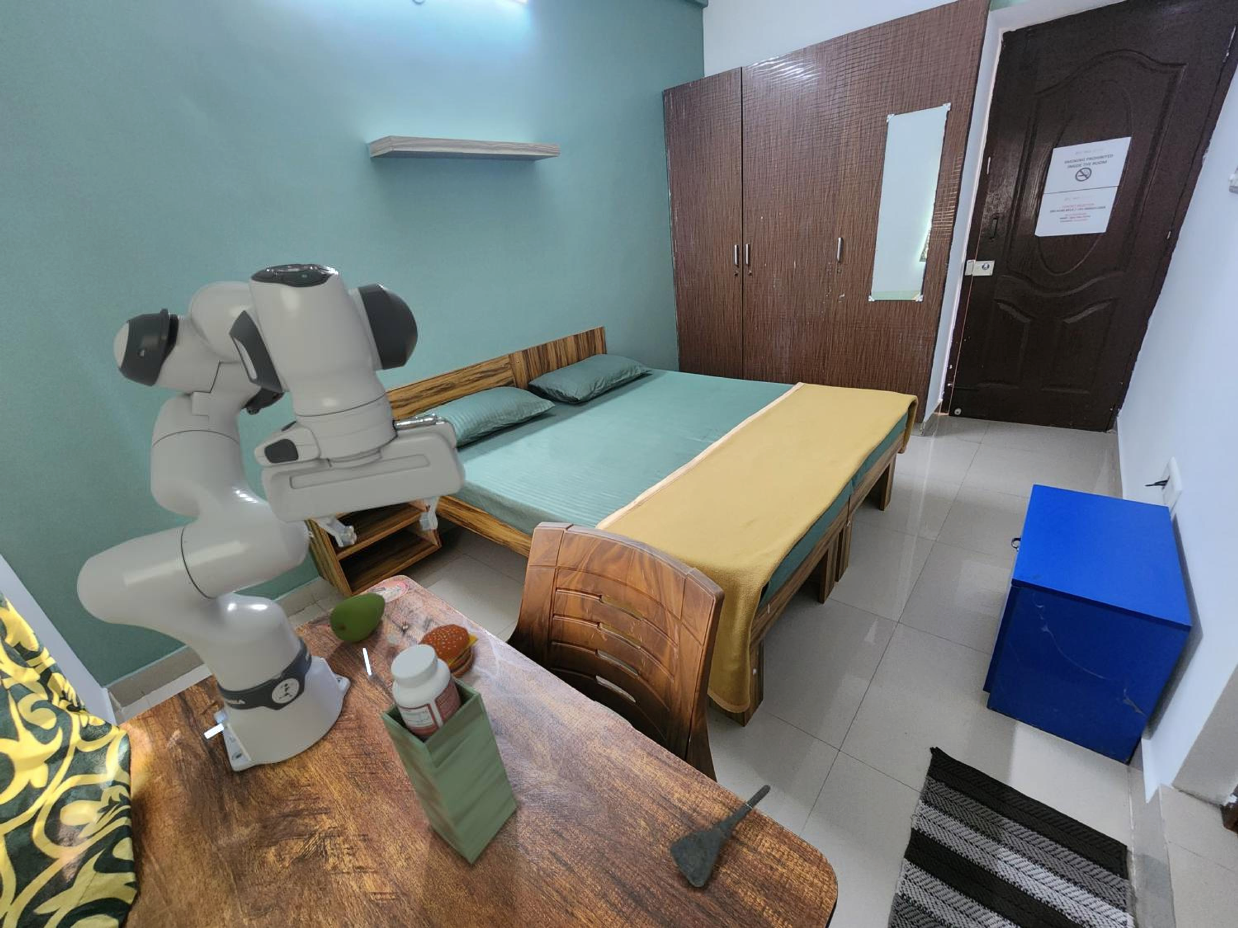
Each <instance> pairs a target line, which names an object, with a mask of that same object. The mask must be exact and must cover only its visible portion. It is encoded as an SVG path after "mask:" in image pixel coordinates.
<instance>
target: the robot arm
mask: <svg viewBox="0 0 1238 928" xmlns="http://www.w3.org/2000/svg"><path fill="white" fill-rule="evenodd" d="M418 338H419V332H418V326H417V322H416V319H415V316H414V315H413V312H412V310H411V308H410V307H409V305H408V304H407V303H406V302H405V301H404V299H403V298H401V297H400V296H399V295H398V294H396V293H395V292H394V291H392V290H390V289H389V288H387V287H385V286H384V285H381V284H379V283H378V282H377V283H376V282H375V283H370V284H366V285H362V286H357V288H351V289H349V288H348V285H347V284H346V283H345V281H344V279H343V278H342V275H341V274H340V273H339V272H338V270H336V269H335V268H332V267H329V266H327V265H324V264H318V263H289V264H280V265H274V266H269V267H266V268H264V269H260V270H258V271H256V272H255V273H253V274H252V275H251V276H250V277H249V279H248V282H243V281H238V280H218V281H213V282H210V283H208V284H205V285H203V286H201V287H199V288H198V289H197V290H196V291H195V292H194V293H193V295H191V297H190V299H189V301H188V305H187V310H186V314H183V315H178V314H177V313H176V314H175V313H170V310H169V308H168V307H166V308H165V307H164V308H161V310H160V311H159V312H156V313H141V314H139V315H137V316H134V317H132V318H129V319H127V321H126V322H125V324H124V325H123V326H122V327H121V328H120V329H119V330H118V332H117V334H116V336H115V338H114V341H113V349H112V350H113V355H114V359H115V362H116V364H117V369H118V371H119V372H120V373H121V375H122V376H123V377H124V378H125V379H127V380H130V381H132V382H135V383H138V384H140V385H143V386H146V387H153V386H156V387H159V388H162V389H165V390H169V391H173V392H177V393H180V394H177V395H175V396H173V397H170V398H169V399H167V400H166V401H165V402H164V403H163V404H162V406H161V407H160V409H159V412H158V414H157V417H156V419H155V423H154V427H153V432H152V436H151V444H150V447H151V448H150V493H151V495H152V497H153V499H154V500H155V502H156V503H157V504H158V505H159V506H160V507H162V508H163V509H165V510H166V511H169V512H171V513H174V514H177V515H179V516H183V517H187V518H194V519H195V520H194V521H192V522H188V523H186V524H183V525H179V526H176V527H175V526H174V527H172V528H167V529H164V530H160V531H157V532H153V533H150V534H149V533H148V534H145V535H140V536H138V537H135V538H131V539H128V540H126V541H123V542H121V543H119V544H116V545H114V546H112V547H110V548H107V549H105V550H103V551H101V552H99V553H97V554H95V555H93V556H91V557H89V558H88V559H87V560H86V561H85V563H84V564H83V566H82V567H81V569H80V571H79V574H78V576H77V582H76V592H77V596H78V600H79V601H80V603H81V605H82V606H83V608H84V610H86V611H87V613H89V614H90V615H92V616H93V617H95V618H96V619H97V620H101V621H102V622H105V623H109V624H115V625H128V626H137V627H140V628H145V629H149V630H153V631H156V632H159V633H161V634H164V635H167V636H169V637H171V638H173V639H175V640H178V641H179V642H181V643H182V644H184V645H186V646H187V647H189V648H190V649H191V650H192V651H193V652H194V653H195V654H197V656H198V657H199V658H200V659H201V661H202V662H203V663H204V665H205V667H207V668H208V670H209V671H210V672H211V674H212V675H213V677H214V679H215V680H216V688H217V691H218V694H219V696H220V698H221V699H222V702H223V708H221V709H219V710H218V711H216V712H215V713H214V714H213V717H214V719H215V721H216V722H217V725H216V726H214V727H212V728H211V729H209V730H208V731H206V732H204V736H205V737H206V739H209V738H211V737H213V736H214V735H216V734H218V733H219V732H222V736H223V738H224V744H225V747H226V751H227V755H228V760H229V763H230V766H231V769H232V770H233V771H234V772H240V771H243V770H247V769H249V768H252V767H254V766H258V765H268V764H275V763H279V762H283V761H286V760H289V759H291V758H294V757H295V756H297V755H299V754H301V753H303V752H304V751H306V750H307V749H309V748H310V747H312V746H313V745H315V744H316V743H317V742H318V741H320V740H321V739H322V738H323V737H324V736H325V735H326V734H327V733H328V732H329V731H330V730H331V728H332V727H333V726H334V724H335V723H336V721H337V720H338V718H339V716H340V715H341V712H342V709H343V703H344V699H345V696H346V694H347V692H348V691H349V689H350V687H351V684H352V682H351V681H350V680H349V678H347V677H345V676H343V675H339V674H336V673H334V672H333V671H332V669H331V667H330V665H329V664H328V662H327V661H326V659H325V657H319V656H317V655H313V654H311V652H310V649H309V646H308V645H307V643H306V642H305V641H304V640H303V638H302V637H300V636H298V634H297V632H296V630H295V628H294V627H293V625H292V623H291V621H290V619H289V617H288V615H287V613H286V612H285V611H286V610H285V609H284V608H283V607H282V606H281V605H280V604H279V603H277V602H276V601H275V600H273V599H270V598H268V597H262V596H253V595H243V594H238V593H235V592H239V591H242V590H246V589H248V588H252V587H254V586H257V585H262V584H264V583H268V582H270V581H272V580H274V579H277V578H279V577H280V576H281V575H284V574H286V573H288V572H290V571H291V570H294V569H296V568H297V567H300V566H301V565H302V564H303V562H304V561H305V560H306V557H307V555H308V552H309V549H310V541H311V540H310V538H311V537H310V532H309V527H308V526H307V524H306V522H305V521H309V520H314V519H315V521H316V523H317V525H318V527H320V528H321V529H322V530H324V531H326V532H327V533H329V534H330V535H331V536H332V537H334V539H335V540H336V543H337V544H338V547H339V548H343V547H349V546H354V545H355V542H356V541H357V534H356V532H354V531H355V529H354V526H353V525H348V526H345V525H344V524H343V523H342V522H340V521H339V520H338V519H337V518H336V516H337V515H341V514H347V513H352V512H359V511H364V510H370V509H375V508H380V507H386V506H387V507H388V506H391V505H397V504H404V503H408V502H415V501H420V500H422V501H423V504H424V507H428V506H429V508H428V511H424V512H422V513H421V515H420V517H419V520H418V521H419V525H420V526H421V531H422V532H429V531H434V530H437V528H438V525H439V524H438V518H437V516H436V515H437V514H436V510H437V507H438V504H439V500H440V498H441V497H443V496H447V495H454V494H458V493H460V491H461V490H462V488H463V486H464V485H465V482H466V475H467V474H466V473H467V472H466V469H465V467H464V464H463V463H464V462H463V461H462V457H461V455H460V453H459V451H458V448H457V445H458V437H457V433H456V428H455V425H454V424H453V423H452V422H451V421H450V420H449V419H447V418H445V417H442V416H438V415H437V414H435V413H431V414H430V413H429V414H425V415H423V416H416V417H415V416H414V417H405V418H398V419H395V415H394V413H393V409H392V406H391V403H390V400H389V396H388V394H387V391H386V388H385V386H384V384H383V383H382V381H381V379H379V377H378V375H377V372H378V371H381V370H382V371H386V370H387V371H388V370H391V369H397V368H402V367H405V366H406V365H407V363H408V361H409V360H410V358H411V357H412V355H413V353H414V350H415V348H416V346H417V343H418ZM286 393H289V394H290V399H291V407H292V409H291V410H292V412H293V415H294V417H295V420H293V421H292V422H289V423H287V424H285V425H283V426H281V427H280V428H279V429H277V430H275V431H274V432H272V433H271V434H270V435H268V436H267V437H266V438H265V439H263V440H262V441H261V442H260V443H259V444H258V445H257V446H256V447H255V448H254V450H253V455H254V456H253V457H254V458H255V460H256V462H257V463H258V464H259V465H261V466H262V467H264V468H263V469H262V472H261V475H260V476H261V477H260V478H261V479H260V480H261V485H262V488H263V491H264V495H265V497H266V500H265V499H264V498H262V497H261V496H259V495H258V494H256V493H255V492H254V491H253V490H252V488H251V486H250V484H249V482H248V478H247V474H246V470H245V464H244V463H245V462H244V453H243V452H244V451H243V446H242V439H241V435H240V430H239V417H240V415H241V412H242V410H244V409H245V410H246V412H247V414H248V415H249V416H254V415H257V414H259V413H260V411H261V410H263V409H265V408H268V407H271V406H273V405H274V404H276V403H277V402H278V401H280V400H281V399H282V398H283V397H284V395H285V394H286ZM439 421H440V422H439ZM362 651H363V656H364V661H365V665H366V670H367V673H368V676H371V675H372V671H371V665H370V663H369V657H368V652H367V650H366V648H362Z"/></svg>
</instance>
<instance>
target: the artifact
mask: <svg viewBox="0 0 1238 928" xmlns="http://www.w3.org/2000/svg"><path fill="white" fill-rule="evenodd" d="M770 791H771V786H770V785H769V784H765V785H763V786H762V787H760V789H759V790H757V791H756V792H755V794H753V796H752V797H750V798H749V799H748V800H747V801H746V802H745V803H747V804H748V805H749V806H751V807H752V808H753V809H754V808H755V807H756V806H757V805H758V804H759V803H760V802H761V801H762V800H763V799H764V798H765V797H767V795H768V794H769V793H770ZM745 803H744V804H743V805H742V806H741V807H740V808H739V809H737V810H736V811H735V812H734V813H733V814H731V815H730V816H728V817H727V818H725V819H724V820H717V821H716V822H715V825H714V827H711V828H708V829H706V830H699V831H694V832H692V833H690V834H687V835H685V836H683V837H681V838H680V839H678V840H676V841H675V842H673V843H672V844H671V846H670V848H669V853H670V856H671V857H672V859H673V862H674V863H675V865H676V867H677V868H678V869H679V871H680V872H681V873H682V874H683V875H684V876H685V877H686V879H687V880H688V881H689V882H690V884H691V885H693V886H694V887H696V888H699V887H703V886H704V885H705V883H706V881H707V880H708V879H709V877H710V876H711V874H712V872H713V870H714V867H715V865H716V862H717V861H718V858H719V854H720V852H721V849H722V847H723V845H724V844H725V842H727V841H730V840H731V839H732V837H733V831H735V829H736V827H738V825H740V823H742V822H743V820H744V819H745V818H746V817H747V815H749V813H751V811H752V810H753V809H751V808H750V807H749V806H747V805H746V804H745Z"/></svg>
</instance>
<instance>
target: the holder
mask: <svg viewBox="0 0 1238 928" xmlns="http://www.w3.org/2000/svg"><path fill="white" fill-rule="evenodd" d="M452 678H453V681H454V684H455V686H456V689H457V692H458V695H459V697H460V700H461V703H462V705H463V706H462V707H461V708H460V709H459V710H458V711H457V712H456V713H455V714H454V715H453V716H452V717H451V718H450V719H449V720H448V721H447V722H445V723H444V724H443V725H442V726H441V727H440V728H439V729H438V730H437V731H436V732H435V733H434V734H433V735H432V736H431V737H430V738H429V739H428V740H427V741H426V742H425V743H423V742H421V741H420V740H419V739H418V738H416V737H415V736H414V735H412V734H411V733H410V732H409V731H408V729H407V726H406V724H405V722H404V720H403V717H402V715H401V713H400V711H399V708H398V706H397V704H396V702H395V703H393V704H392V705H391V706H390V707H389V708H388V709H386V710H385V711H384V712H383V713H382V714H380V717H381V720H382V722H383V724H384V727H385V728H386V731H387V733H388V735H389V737H390V739H391V742H392V744H393V746H394V748H395V750H396V752H397V754H398V757H399V759H400V761H401V763H402V765H403V767H404V769H405V771H406V774H407V776H408V778H409V780H410V782H411V785H412V787H413V790H414V791H415V793H416V796H417V798H418V800H419V803H420V804H421V807H422V809H423V811H424V813H425V816H426V818H427V819H428V822H429V824H430V826H431V828H432V829H433V831H435V832H436V833H437V834H438V835H439V836H440V837H441V838H442V839H443V840H444V841H446V842H447V843H448V844H449V845H450V846H451V847H452V848H453V849H454V850H455V851H456V852H458V854H460V855H461V856H462V858H464V859H465V860H466V861H467V862H468V863H470V865H473V864H474V862H475V861H476V860H477V858H478V857H479V856H480V855H481V853H482V852H483V851H484V850H485V848H486V847H487V846H488V844H489V843H490V842H491V841H492V839H493V838H495V836H496V835H497V833H498V832H499V831H500V829H501V828H502V827H503V826H504V825H505V824H506V822H507V820H508V819H509V818H510V817H511V815H512V814H513V813H514V811H515V810H516V809H517V808H518V803H517V801H516V799H515V795H514V793H513V790H512V789H513V788H512V786H511V783H510V780H509V776H508V774H507V770H506V768H505V765H504V761H503V759H502V755H501V753H500V750H499V747H498V744H497V740H496V737H495V734H494V731H493V728H492V725H491V721H490V719H489V716H488V712H487V709H486V706H485V703H484V700H483V697H482V694H481V692H479V691H478V690H476V689H475V688H473V687H472V686H470V685H468V684H466V683H465V682H463V681H462V680H460V679H458V677H457V678H455V677H454V676H452Z"/></svg>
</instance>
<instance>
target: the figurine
mask: <svg viewBox="0 0 1238 928" xmlns="http://www.w3.org/2000/svg"><path fill="white" fill-rule="evenodd" d="M428 624H429V618H428V615H426V617H425V619H424V627H425V628H428ZM402 626H403V627H402V628H403V630H407V629H408V627H409V626H408V624H407V621H403V622H402ZM386 638H387V642H388V644H396V645H400V642H399V638H398V635H395V634H386Z"/></svg>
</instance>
